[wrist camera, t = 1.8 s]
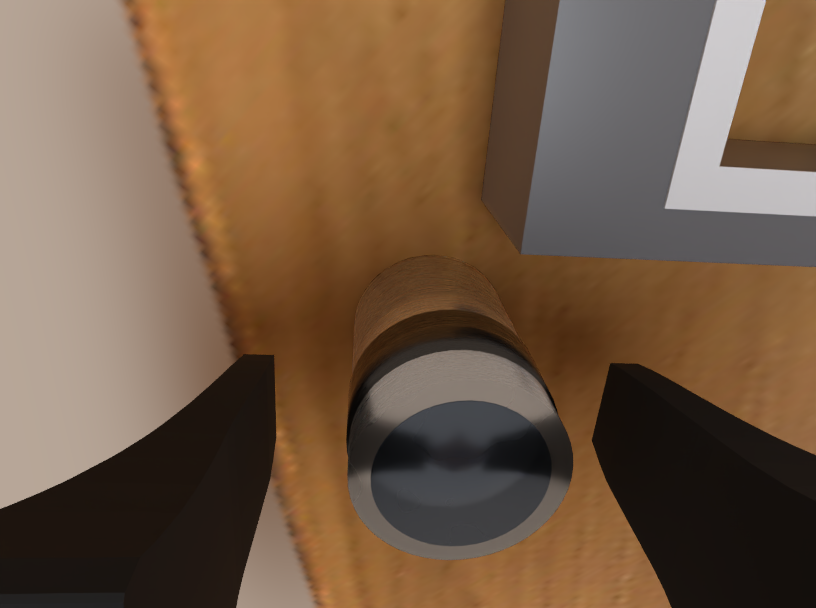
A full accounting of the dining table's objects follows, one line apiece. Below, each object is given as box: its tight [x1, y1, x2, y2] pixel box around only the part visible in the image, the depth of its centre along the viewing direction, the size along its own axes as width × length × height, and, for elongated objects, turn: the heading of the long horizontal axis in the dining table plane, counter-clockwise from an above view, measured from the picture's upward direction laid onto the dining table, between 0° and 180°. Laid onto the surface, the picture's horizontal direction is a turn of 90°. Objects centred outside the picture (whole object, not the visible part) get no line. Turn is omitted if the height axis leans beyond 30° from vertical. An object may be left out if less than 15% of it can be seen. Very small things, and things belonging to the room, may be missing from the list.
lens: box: [346, 255, 573, 560], centre depth 13 cm, size 4×4×6 cm
